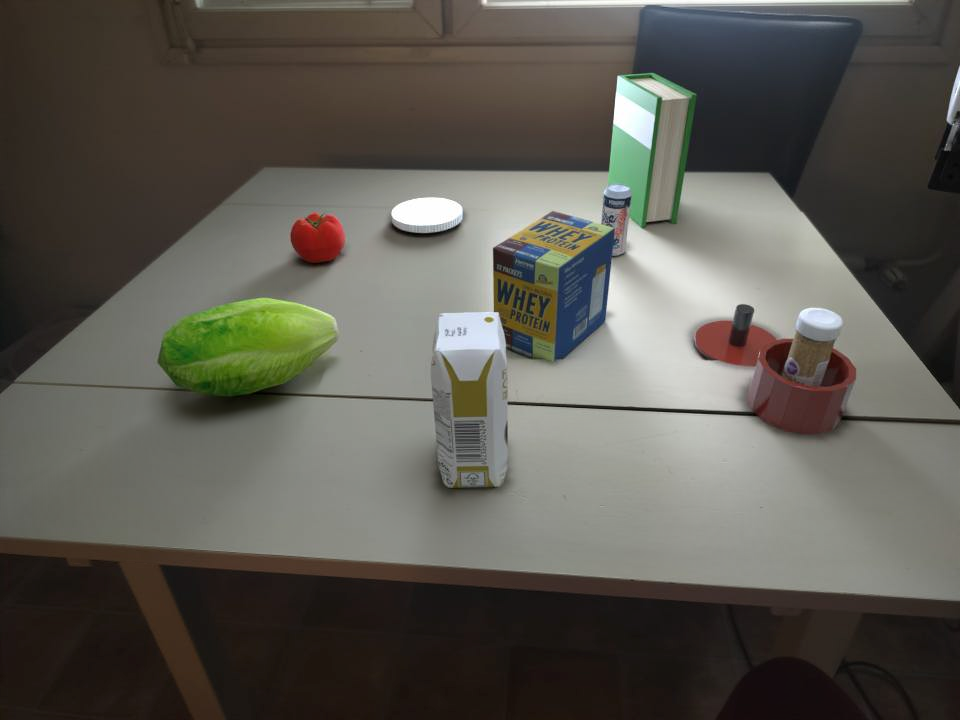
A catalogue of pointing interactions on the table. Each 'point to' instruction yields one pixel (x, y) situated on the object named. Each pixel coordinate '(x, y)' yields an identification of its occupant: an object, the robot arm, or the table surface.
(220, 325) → the lettuce
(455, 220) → the plastic lid
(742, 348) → the lid
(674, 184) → the hardback book
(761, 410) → the pot
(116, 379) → the table surface
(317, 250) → the tomato
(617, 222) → the beer can
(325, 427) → the table surface
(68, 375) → the table surface
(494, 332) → the juice carton
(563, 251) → the protein box
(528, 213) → the table surface
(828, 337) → the sprinkles bottle
